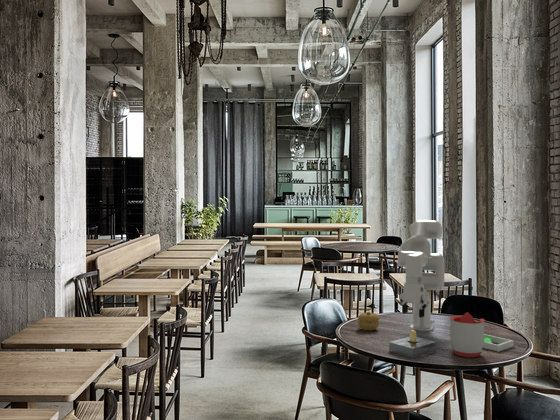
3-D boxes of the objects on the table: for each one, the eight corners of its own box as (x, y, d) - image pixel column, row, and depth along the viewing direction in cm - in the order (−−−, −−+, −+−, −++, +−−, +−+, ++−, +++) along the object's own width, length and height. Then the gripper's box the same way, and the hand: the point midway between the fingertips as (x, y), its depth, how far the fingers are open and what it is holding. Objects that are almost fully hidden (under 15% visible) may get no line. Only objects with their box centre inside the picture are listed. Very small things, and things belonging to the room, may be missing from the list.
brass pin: (412, 349, 267) (412, 329, 267) (417, 351, 265) (417, 330, 264) (408, 351, 265) (408, 330, 265) (413, 352, 263) (413, 331, 263)
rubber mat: (411, 335, 293) (411, 334, 293) (426, 339, 285) (426, 338, 285) (399, 339, 287) (399, 338, 287) (414, 343, 279) (414, 342, 279)
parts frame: (476, 337, 289) (477, 332, 289) (513, 346, 274) (513, 340, 274) (461, 342, 280) (461, 336, 280) (498, 351, 265) (498, 345, 265)
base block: (412, 344, 276) (412, 335, 276) (436, 351, 265) (436, 341, 265) (389, 351, 265) (389, 341, 265) (412, 358, 254) (412, 348, 254)
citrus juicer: (493, 355, 259) (494, 313, 258) (469, 361, 250) (470, 317, 249) (466, 347, 272) (466, 307, 271) (442, 352, 263) (442, 311, 262)
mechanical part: (492, 347, 272) (492, 331, 272) (479, 346, 274) (479, 330, 273) (489, 340, 284) (489, 325, 284) (477, 340, 285) (477, 324, 285)
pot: (376, 326, 312) (376, 309, 311) (381, 332, 300) (381, 314, 300) (356, 327, 311) (356, 309, 311) (359, 332, 300) (359, 314, 299)
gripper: (433, 281, 260) (433, 317, 261) (404, 276, 273) (403, 310, 274) (423, 283, 255) (423, 320, 256) (394, 278, 268) (394, 312, 269)
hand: (413, 315), depth 265 cm, fingers open, 9 cm apart
